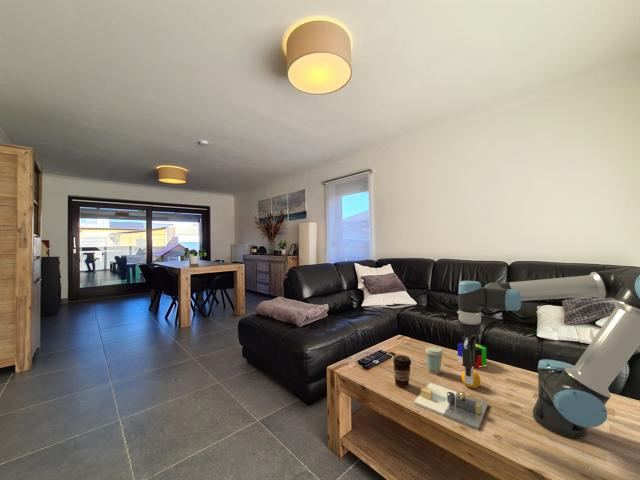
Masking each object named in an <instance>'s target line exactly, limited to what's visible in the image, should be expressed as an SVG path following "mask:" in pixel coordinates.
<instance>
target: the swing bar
mask: <svg viewBox="0 0 640 480" xmlns="http://www.w3.org/2000/svg"><path fill="white" fill-rule="evenodd" d="M459 393H460V396H457V397H456V406H458V407H461V408H464V409H466V410H469V411H472V412H474V413H477V414H481V411H482V404H480V403H478V402H475V401H472V400H469V399H466V398H465V395H466V392H464V391H459Z"/></svg>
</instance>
